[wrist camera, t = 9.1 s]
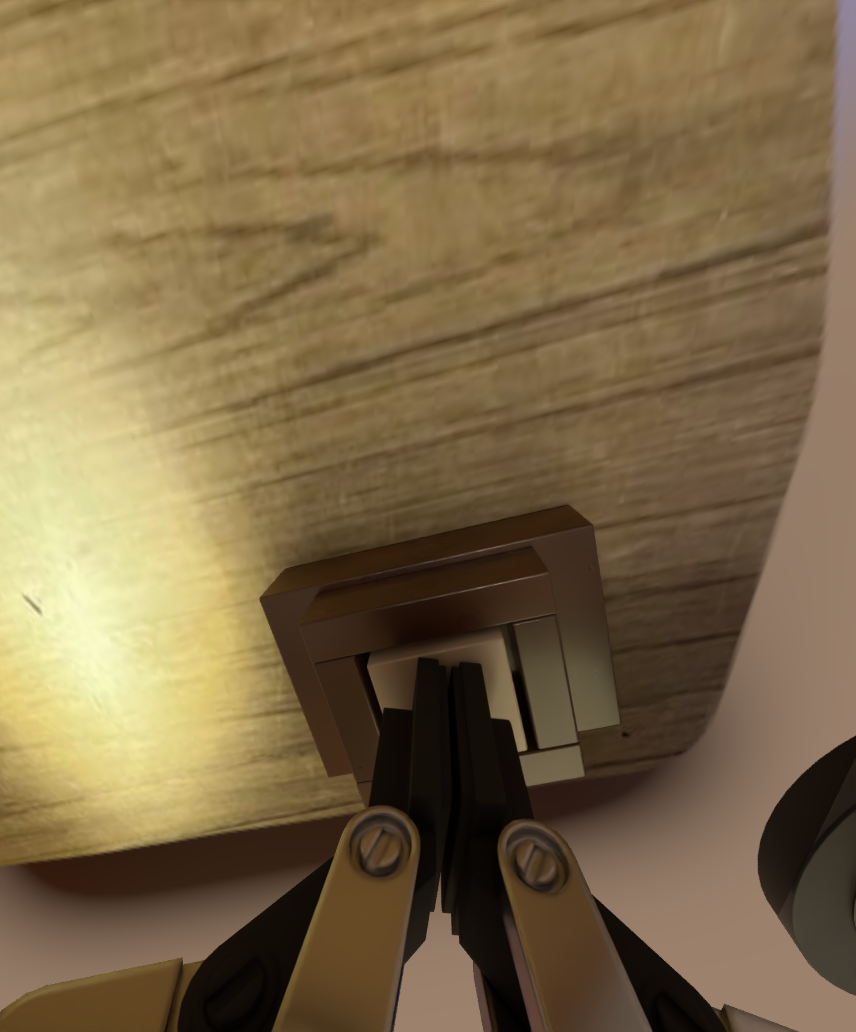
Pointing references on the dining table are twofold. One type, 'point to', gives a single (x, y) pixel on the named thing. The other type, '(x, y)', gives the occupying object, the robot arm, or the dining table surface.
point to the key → (483, 646)
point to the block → (451, 610)
